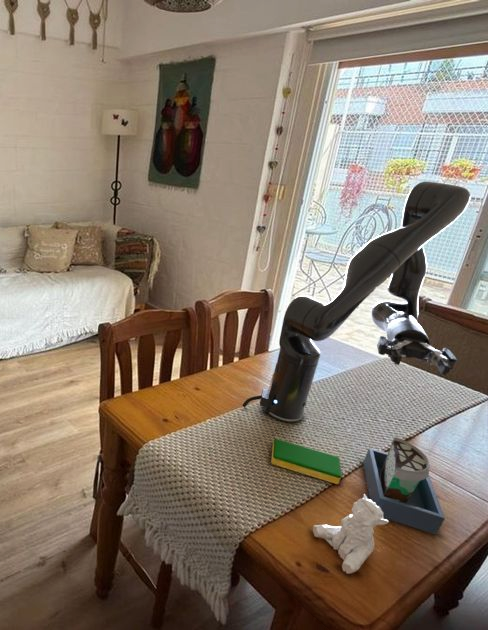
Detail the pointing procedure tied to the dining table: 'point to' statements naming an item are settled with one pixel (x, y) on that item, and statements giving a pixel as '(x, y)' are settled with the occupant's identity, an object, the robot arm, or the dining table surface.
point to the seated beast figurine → (354, 533)
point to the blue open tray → (420, 505)
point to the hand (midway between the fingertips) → (421, 366)
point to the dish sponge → (306, 461)
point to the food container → (403, 470)
